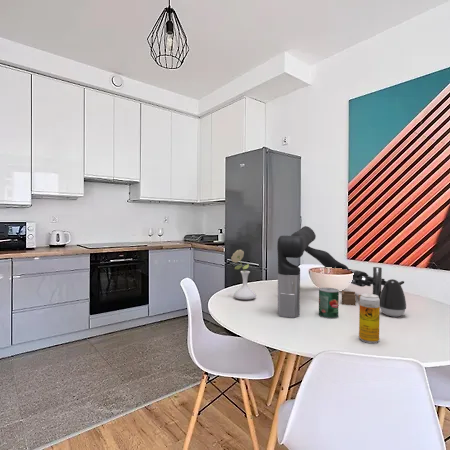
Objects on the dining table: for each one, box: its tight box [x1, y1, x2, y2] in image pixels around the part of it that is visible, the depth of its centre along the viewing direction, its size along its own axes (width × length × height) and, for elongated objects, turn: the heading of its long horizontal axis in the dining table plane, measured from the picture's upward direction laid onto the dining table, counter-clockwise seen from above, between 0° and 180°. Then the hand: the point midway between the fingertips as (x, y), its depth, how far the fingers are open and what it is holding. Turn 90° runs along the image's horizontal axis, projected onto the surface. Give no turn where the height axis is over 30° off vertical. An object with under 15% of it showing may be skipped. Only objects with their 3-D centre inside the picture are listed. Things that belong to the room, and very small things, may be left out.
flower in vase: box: [230, 249, 257, 300], centre depth 158 cm, size 13×11×25 cm
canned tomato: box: [318, 287, 340, 320], centre depth 131 cm, size 8×8×11 cm
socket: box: [341, 290, 357, 306], centre depth 152 cm, size 7×6×5 cm
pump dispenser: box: [380, 278, 407, 318], centre depth 133 cm, size 10×10×15 cm
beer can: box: [358, 293, 381, 344], centre depth 104 cm, size 6×6×15 cm
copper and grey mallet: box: [357, 266, 383, 302], centre depth 148 cm, size 4×16×17 cm, turn 71°
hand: (378, 283), depth 147 cm, fingers open, 8 cm apart
